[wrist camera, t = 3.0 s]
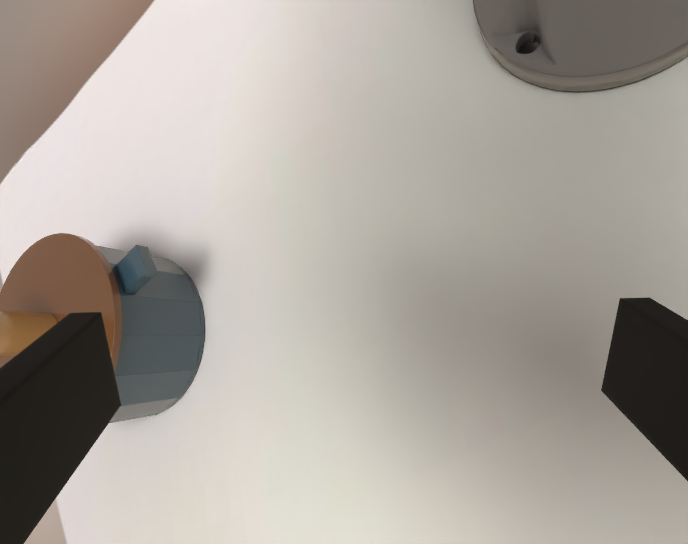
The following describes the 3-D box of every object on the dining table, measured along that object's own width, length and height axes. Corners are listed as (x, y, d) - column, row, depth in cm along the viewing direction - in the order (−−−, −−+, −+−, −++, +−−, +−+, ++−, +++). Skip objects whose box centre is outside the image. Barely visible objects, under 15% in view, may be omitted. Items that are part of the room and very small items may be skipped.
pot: (64, 328, 48) (-30, 327, 41) (186, 208, 42) (102, 181, 35) (105, 458, 43) (6, 484, 36) (251, 342, 37) (169, 343, 30)
